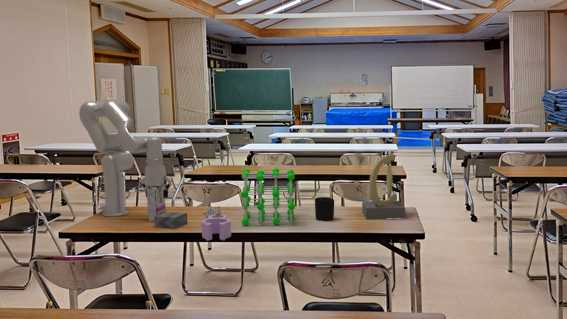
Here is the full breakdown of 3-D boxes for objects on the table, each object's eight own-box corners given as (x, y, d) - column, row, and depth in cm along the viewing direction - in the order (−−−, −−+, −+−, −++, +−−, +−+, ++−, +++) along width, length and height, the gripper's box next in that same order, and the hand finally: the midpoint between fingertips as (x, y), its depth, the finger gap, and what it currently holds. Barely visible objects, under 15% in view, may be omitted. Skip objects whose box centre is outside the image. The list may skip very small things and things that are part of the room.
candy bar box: (156, 216, 307) (155, 184, 305) (166, 216, 306) (164, 184, 304) (147, 221, 296) (146, 187, 294) (157, 221, 295) (155, 188, 293)
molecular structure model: (244, 215, 307) (243, 167, 304) (294, 214, 307) (293, 166, 304) (241, 226, 283) (240, 174, 280) (295, 225, 283) (294, 173, 280)
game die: (217, 230, 292) (229, 213, 292) (210, 227, 284) (222, 209, 285) (204, 219, 296) (216, 202, 296) (196, 216, 288) (209, 199, 288)
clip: (204, 230, 277) (204, 215, 276) (232, 229, 277) (232, 214, 277) (200, 241, 257) (200, 224, 256) (230, 240, 258) (230, 224, 257)
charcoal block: (154, 227, 284) (154, 216, 283) (167, 222, 294) (166, 211, 294) (175, 228, 280) (175, 217, 280) (187, 223, 290) (187, 213, 290)
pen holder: (337, 218, 298) (337, 197, 297) (330, 221, 289) (330, 201, 288) (319, 216, 302) (319, 196, 300) (311, 220, 293) (311, 199, 292)
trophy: (405, 219, 293) (405, 157, 290) (366, 219, 294) (366, 157, 290) (399, 211, 312) (399, 152, 308) (362, 211, 312) (362, 153, 309)
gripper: (135, 163, 297) (137, 198, 299) (166, 163, 291) (168, 199, 293) (144, 161, 304) (146, 195, 306) (174, 161, 298) (176, 196, 300)
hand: (157, 197), depth 300 cm, fingers open, 9 cm apart
